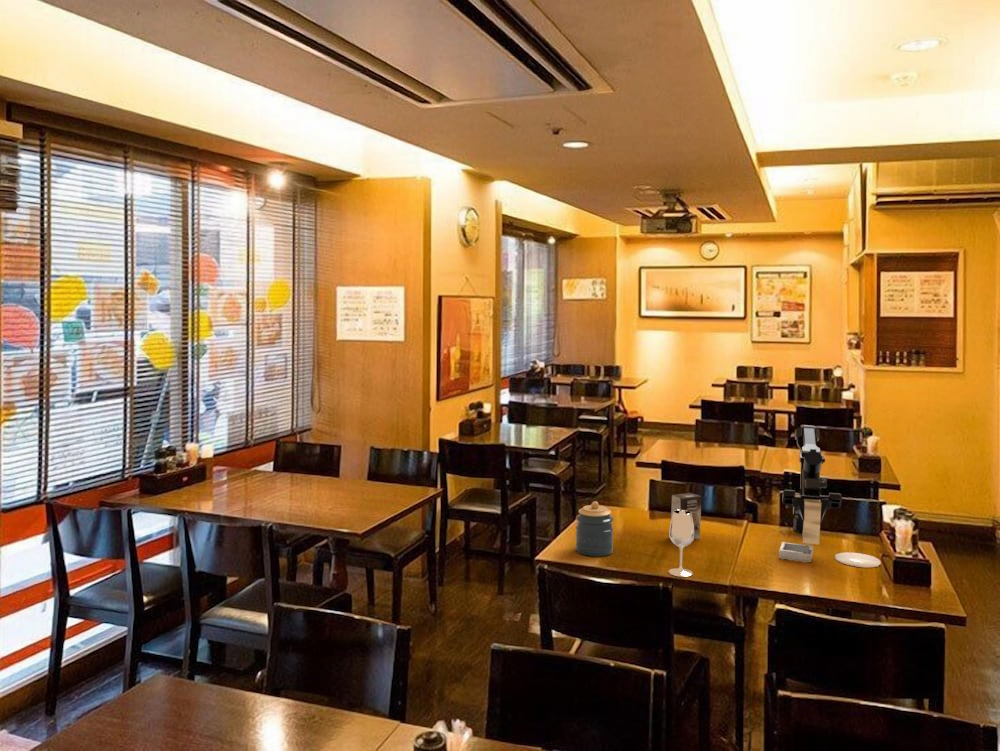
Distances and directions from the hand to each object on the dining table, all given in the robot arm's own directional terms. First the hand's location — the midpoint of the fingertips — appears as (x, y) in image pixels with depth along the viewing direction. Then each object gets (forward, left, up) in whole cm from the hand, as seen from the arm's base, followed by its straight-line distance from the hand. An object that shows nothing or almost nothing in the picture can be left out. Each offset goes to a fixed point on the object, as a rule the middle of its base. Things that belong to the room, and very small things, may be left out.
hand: (812, 520), depth 268 cm
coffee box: (+36, -25, -14) cm, 46 cm away
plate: (-15, +2, -13) cm, 21 cm away
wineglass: (+48, +12, -14) cm, 51 cm away
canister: (+72, -11, -14) cm, 74 cm away
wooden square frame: (+4, -3, -13) cm, 14 cm away
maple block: (0, -1, -8) cm, 8 cm away
